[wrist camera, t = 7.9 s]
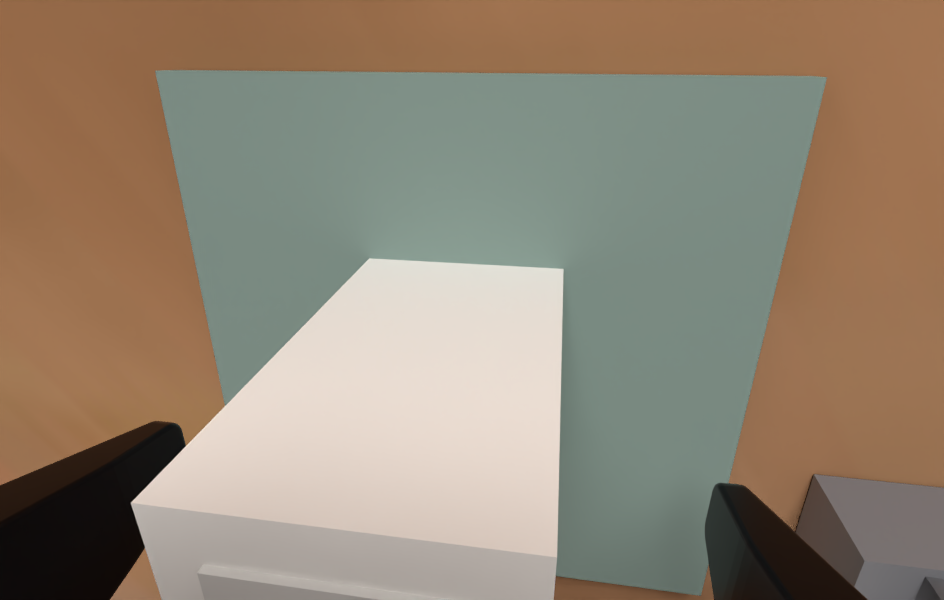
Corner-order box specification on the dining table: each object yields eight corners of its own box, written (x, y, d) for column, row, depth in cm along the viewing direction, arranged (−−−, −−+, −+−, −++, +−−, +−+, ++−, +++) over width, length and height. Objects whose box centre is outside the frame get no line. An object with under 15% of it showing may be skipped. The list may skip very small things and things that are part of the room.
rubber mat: (812, 76, 10) (826, 77, 9) (696, 575, 14) (700, 595, 14) (175, 70, 11) (155, 70, 11) (262, 518, 16) (252, 534, 16)
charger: (563, 269, 11) (556, 566, 5) (549, 468, 13) (531, 871, 7) (369, 258, 12) (122, 510, 5) (384, 451, 14) (220, 804, 7)
